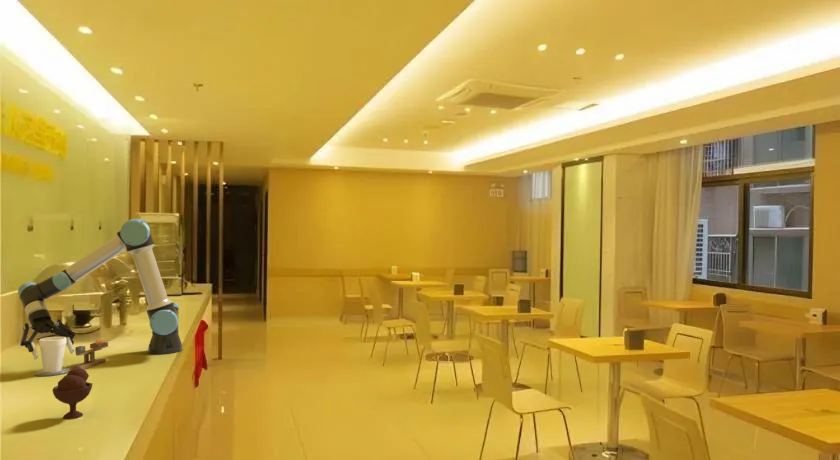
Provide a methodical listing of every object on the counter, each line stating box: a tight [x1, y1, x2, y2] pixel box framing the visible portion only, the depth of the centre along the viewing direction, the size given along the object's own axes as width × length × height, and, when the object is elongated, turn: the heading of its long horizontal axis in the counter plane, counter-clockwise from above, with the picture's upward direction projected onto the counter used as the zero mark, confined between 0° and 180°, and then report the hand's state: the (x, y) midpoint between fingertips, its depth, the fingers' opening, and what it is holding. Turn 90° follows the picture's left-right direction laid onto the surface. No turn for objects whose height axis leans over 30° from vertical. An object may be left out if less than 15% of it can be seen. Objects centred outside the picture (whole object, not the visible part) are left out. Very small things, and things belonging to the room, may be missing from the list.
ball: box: [94, 338, 104, 344], centre depth 262 cm, size 3×3×3 cm
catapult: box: [71, 341, 109, 370], centre depth 256 cm, size 5×16×9 cm, turn 170°
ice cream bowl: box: [52, 368, 94, 420], centre depth 188 cm, size 11×11×15 cm
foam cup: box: [38, 335, 67, 372], centre depth 244 cm, size 10×9×13 cm
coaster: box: [34, 366, 71, 377], centre depth 244 cm, size 12×12×1 cm
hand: (55, 354), depth 242 cm, fingers open, 13 cm apart
